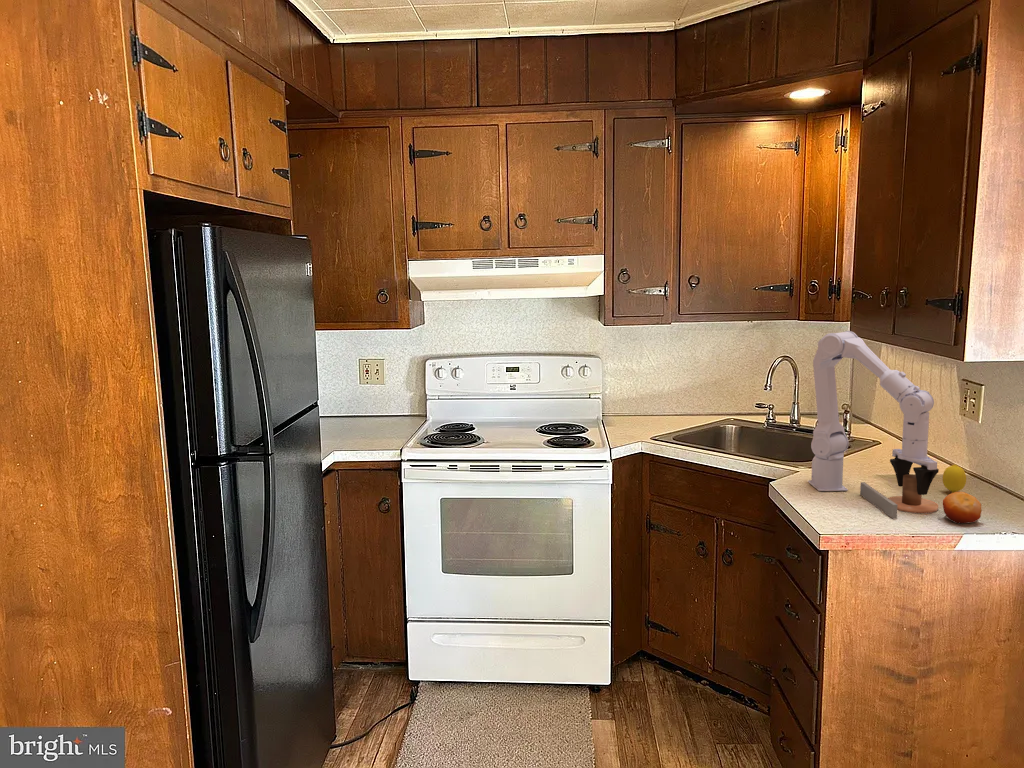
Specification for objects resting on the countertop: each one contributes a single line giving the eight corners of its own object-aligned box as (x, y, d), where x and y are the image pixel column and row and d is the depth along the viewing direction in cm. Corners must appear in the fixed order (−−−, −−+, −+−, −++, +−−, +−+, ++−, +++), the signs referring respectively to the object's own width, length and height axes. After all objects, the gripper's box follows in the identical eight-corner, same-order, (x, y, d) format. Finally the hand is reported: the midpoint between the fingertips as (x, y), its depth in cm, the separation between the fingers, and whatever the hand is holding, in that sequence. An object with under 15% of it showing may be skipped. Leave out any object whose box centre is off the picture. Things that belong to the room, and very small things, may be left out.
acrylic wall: (860, 494, 200) (860, 482, 200) (863, 494, 200) (864, 482, 200) (892, 518, 181) (893, 504, 180) (896, 518, 181) (897, 504, 180)
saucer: (877, 499, 196) (877, 496, 196) (924, 498, 195) (924, 495, 195) (897, 513, 184) (898, 510, 184) (947, 513, 184) (947, 510, 183)
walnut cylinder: (898, 500, 192) (899, 474, 191) (913, 499, 192) (914, 473, 191) (909, 506, 187) (910, 479, 186) (925, 504, 188) (926, 478, 187)
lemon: (943, 489, 203) (945, 460, 202) (966, 492, 200) (968, 463, 199) (939, 493, 199) (941, 465, 198) (963, 497, 196) (965, 468, 195)
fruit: (961, 507, 183) (974, 485, 178) (978, 532, 177) (992, 510, 172) (929, 508, 183) (941, 486, 178) (945, 533, 177) (958, 511, 172)
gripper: (882, 433, 194) (880, 483, 196) (919, 445, 180) (916, 499, 182) (907, 432, 195) (904, 481, 197) (946, 444, 181) (943, 497, 183)
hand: (912, 490), depth 189 cm, fingers open, 7 cm apart
